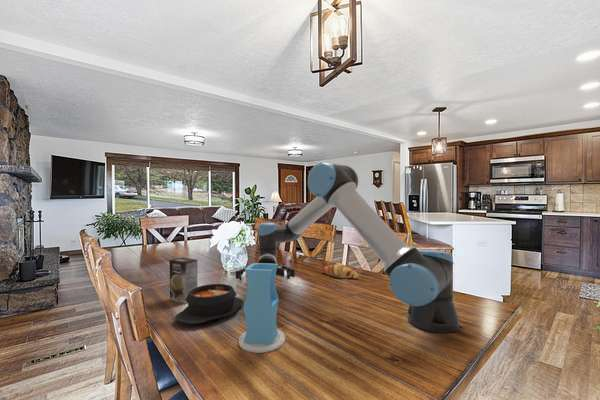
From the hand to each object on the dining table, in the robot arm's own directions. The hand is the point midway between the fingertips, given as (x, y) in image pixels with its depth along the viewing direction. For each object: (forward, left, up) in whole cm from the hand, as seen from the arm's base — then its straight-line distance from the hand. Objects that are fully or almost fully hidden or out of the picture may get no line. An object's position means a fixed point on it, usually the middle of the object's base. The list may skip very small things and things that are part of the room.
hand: (264, 280), depth 90 cm
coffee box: (+39, +16, -14) cm, 44 cm away
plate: (-8, +5, -14) cm, 17 cm away
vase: (-8, +5, -13) cm, 17 cm away
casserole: (+19, +11, -14) cm, 26 cm away
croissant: (+28, -57, -15) cm, 65 cm away
